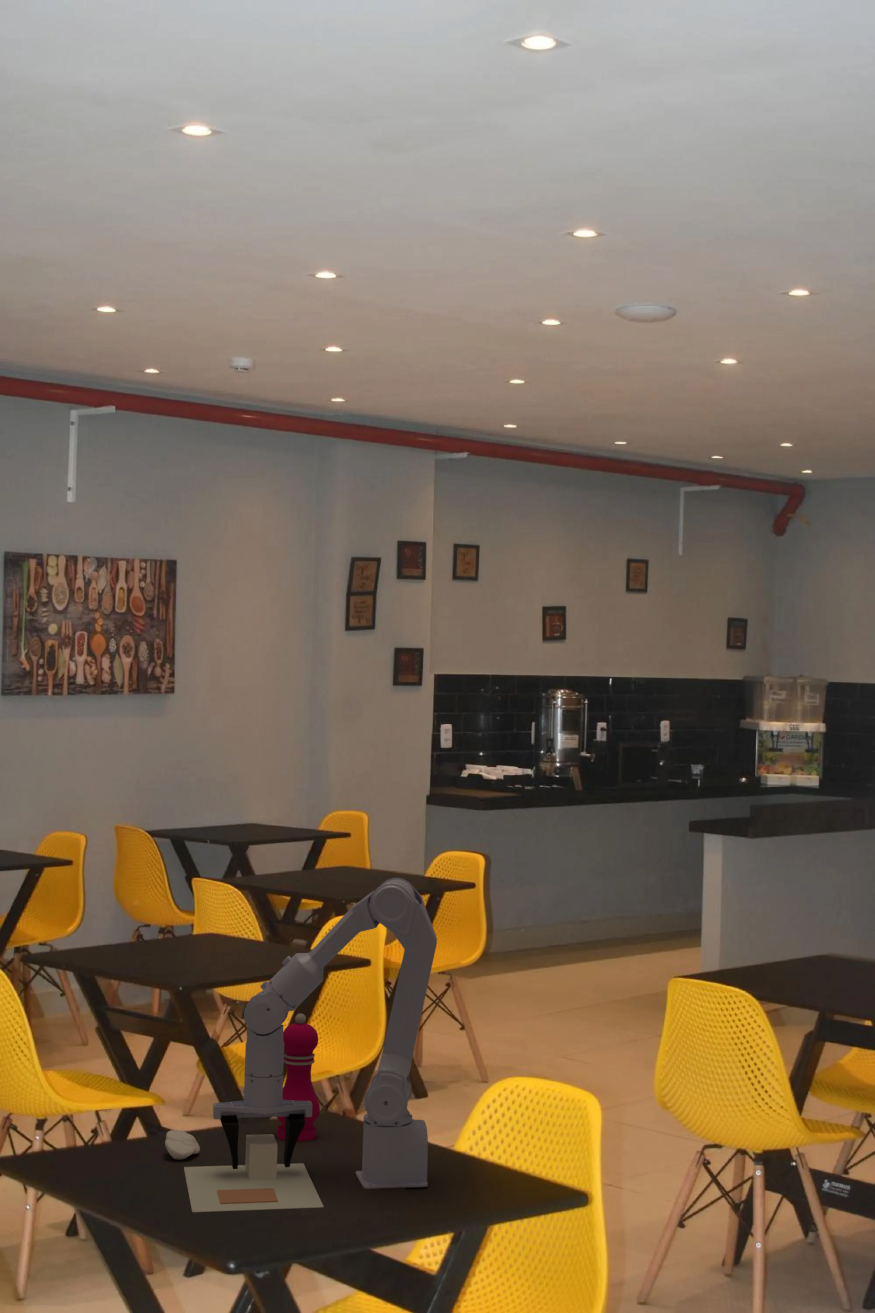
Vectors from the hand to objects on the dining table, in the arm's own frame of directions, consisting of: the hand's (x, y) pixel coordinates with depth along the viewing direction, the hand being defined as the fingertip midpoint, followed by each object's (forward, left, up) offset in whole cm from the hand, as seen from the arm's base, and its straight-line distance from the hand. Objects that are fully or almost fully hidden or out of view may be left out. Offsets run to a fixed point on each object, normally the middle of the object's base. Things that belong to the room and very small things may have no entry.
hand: (260, 1166), depth 229 cm
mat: (+2, +6, -1) cm, 6 cm away
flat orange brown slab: (+3, +11, -1) cm, 11 cm away
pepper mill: (-8, -21, -2) cm, 23 cm away
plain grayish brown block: (0, 0, -1) cm, 1 cm away
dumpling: (+11, -11, -2) cm, 16 cm away
